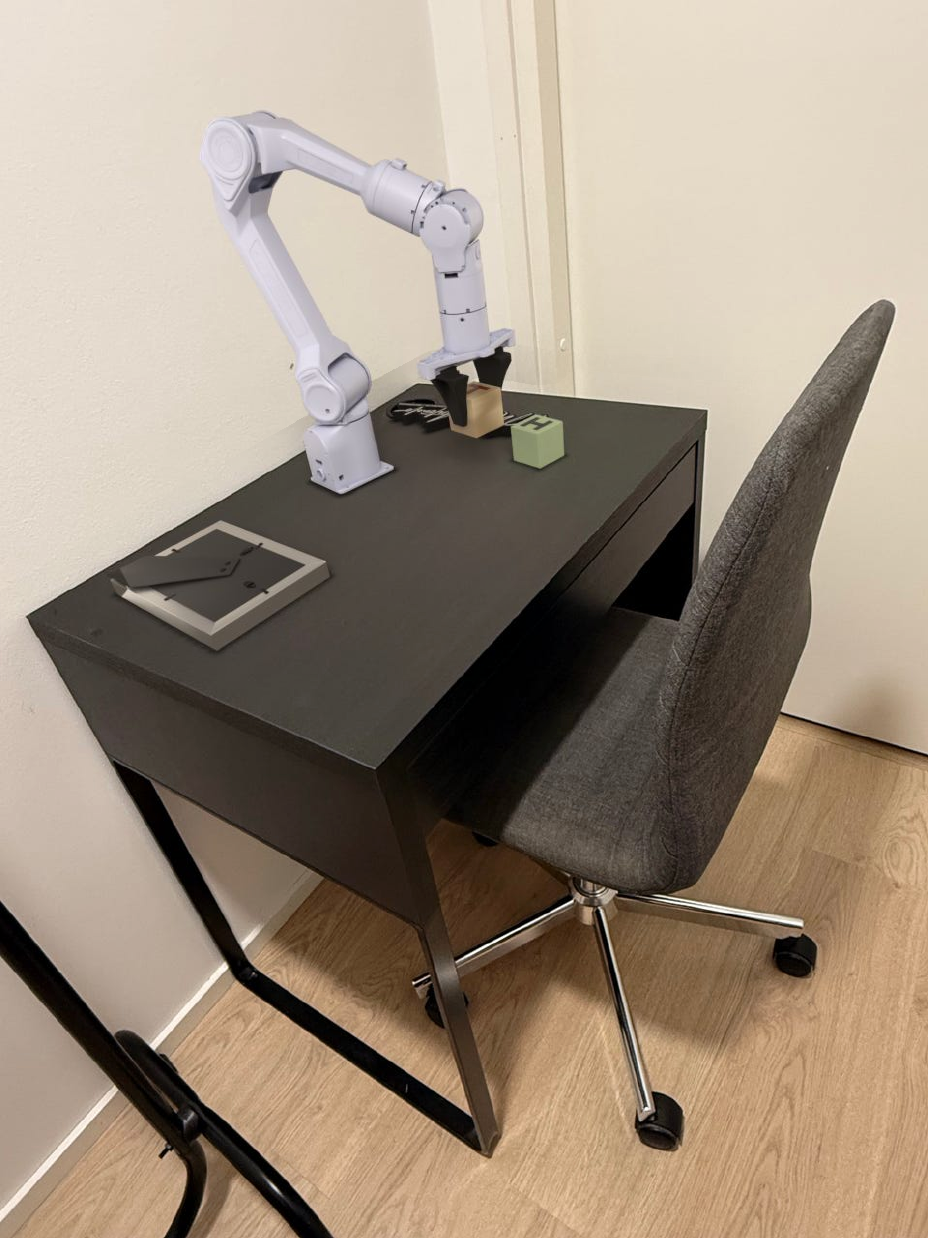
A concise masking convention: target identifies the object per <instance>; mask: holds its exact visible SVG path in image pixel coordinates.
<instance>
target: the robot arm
mask: <svg viewBox="0 0 928 1238" xmlns="http://www.w3.org/2000/svg"><path fill="white" fill-rule="evenodd" d="M204 129H205V130H204V133H203V137H202V142H201V147H200V152H199V162H200V163H201V166H202V167H203V169H204V171H205V172H206V174H207V176H208V177H209V180H210V185H211V190H212V195H213V199H214V204H215V210H216V214H217V217H218V219H219V221H220V223H221V225H222V227H223V229H224V230H225V232H226V234H227V235H228V238H229V239H230V241H231V243H232V245H233V246H234V249H235V250H236V251H237V253H238V255H239V257H240V259H241V260H242V263H243V264H244V266H245V267H246V269H247V271H248V272H249V275H250V276H251V278H252V280H253V282H254V283H255V285H256V287H257V289H258V290H259V292H260V294H261V295H262V297H263V299H264V301H265V302H266V304H267V307H268V308H269V310H270V311H271V313H272V315H273V317H274V318H275V320H276V322H277V324H278V326H279V328H280V329H281V331H282V333H283V335H284V336H285V338H286V340H287V342H288V344H289V345H290V346H291V347H290V348H291V349H292V350H293V352H294V354H295V366H294V373H293V375H294V377H293V378H294V380H295V381H296V383H297V385H298V387H299V389H300V394H301V395H300V396H301V401H302V404H303V407H304V409H305V410H306V412H307V413H308V415H310V417H312V418H313V419H314V420H315V422H314V423H313V425H310V427H308V428H306V429H305V430H304V431H303V434H302V436H303V437H302V441H303V446H304V449H305V453H306V456H307V460H308V465H309V468H310V471H311V472H310V473H311V475H312V476H311V477H310V480H311V482H313V483H315V484H318V485H319V486H322V487H324V488H326V489H327V490H331V491H333V492H334V493H337V494H339V495H344V494H346V493H348V492H350V491H352V490H354V489H357V488H358V487H361V486H362V485H364V484H367V483H369V482H371V481H373V480H375V479H377V478H379V477H381V476H383V475H385V474H388V473H390V472H392V471H393V470H394V469H395V468H394V465H392V464H390V463H387V462H384V461H382V460H380V455H379V451H378V445H377V440H376V435H375V431H374V425H373V421H372V417H371V411H370V407H369V402H368V394H369V393H370V391H371V389H372V381H373V380H372V375H371V372H370V370H369V368H368V367H367V365H366V364H365V362H364V361H362V360H361V359H360V358H359V357H358V356H356V355H355V353H354V352H353V350H352V349H351V347H350V345H349V343H348V342H346V341H344V340H343V339H341V338H339V337H337V336H336V335H334V334H333V333H332V331H331V329H330V326H329V325H328V323H327V322H326V320H325V317H324V316H323V314H322V312H321V311H320V308H319V307H318V305H317V302H316V301H315V299H314V298H313V295H312V294H311V292H310V290H309V287H308V286H307V284H306V283H305V281H304V279H303V277H302V274H301V273H300V271H299V270H298V267H297V265H296V263H295V262H294V260H293V257H291V255H290V253H289V250H288V249H287V247H286V246H285V243H284V241H283V240H282V238H281V236H280V234H279V232H278V230H277V228H276V227H275V225H274V223H273V221H272V219H271V218H270V215H269V206H270V202H271V198H272V196H273V195H272V194H273V190H274V188H275V186H276V185H277V183H278V182H279V179H280V178H281V176H282V175H283V173H284V172H285V171H291V170H297V171H300V172H302V173H305V174H306V175H309V176H312V177H314V178H316V179H318V180H321V181H324V182H325V183H328V184H330V185H333V186H335V187H338V188H339V189H342V190H344V191H347V192H350V193H351V194H355V195H357V196H359V197H360V199H361V200H362V203H363V205H364V207H365V209H366V211H367V212H368V214H370V215H372V216H374V217H376V218H377V219H380V220H382V221H384V222H386V223H388V224H391V225H392V226H394V227H396V228H399V229H400V230H402V231H404V232H407V233H409V234H411V235H412V236H415V237H417V238H420V240H421V241H422V243H423V245H424V246H425V248H426V249H427V250H428V251H429V253H430V254H431V260H432V266H433V278H434V284H435V291H436V298H437V299H436V300H437V306H438V314H439V320H440V321H439V322H440V330H441V336H442V342H443V343H442V344H443V346H442V347H440V348H439V349H437V350H435V352H433V353H431V354H430V355H428V356H427V357H425V358H422V359H421V360H419V361H417V362H416V365H417V370H418V371H417V372H418V376H419V379H421V380H427V381H430V383H431V384H432V385H433V387H434V388H435V389H436V391H437V392H438V393H439V395H440V397H441V398H442V400H443V402H444V405H446V406H447V409H448V411H449V413H450V416H451V418H452V421H453V424H455V425H458V426H461V427H465V426H467V404H466V394H467V384H469V379H470V376H469V375H467V374H464V373H461V371H460V369H458V367H460V366H463V365H465V364H468V363H470V362H472V363H473V365H474V368H475V372H476V375H477V380H478V382H480V383H484V384H488V385H492V386H496V387H500V388H501V391H502V390H503V385H504V380H505V377H506V375H507V373H508V369H509V367H510V365H511V364H512V361H513V359H512V358H513V357H512V353H511V352H509V351H504V348H512V347H514V346H516V345H517V344H516V333H515V332H516V331H515V329H512V328H506V327H502V328H500V329H496V330H494V331H490V326H489V325H490V324H489V315H488V305H487V294H486V283H485V275H484V266H483V261H482V252H481V241H480V239H478V237H479V236H480V234H481V232H482V230H483V227H484V221H485V215H484V210H483V207H482V205H481V203H480V201H479V200H478V198H477V197H476V196H474V195H473V194H472V193H470V192H469V191H468V190H467V189H466V188H465V187H454V188H450V189H448V190H447V189H446V186H447V184H446V182H445V181H443V180H441V179H436V180H435V181H432V180H430V179H428V178H426V177H424V176H422V175H420V174H418V173H416V172H414V171H412V170H410V169H408V168H407V166H408V161H406V160H403V159H401V158H400V157H397V158H393V159H392V161H391V160H389V159H382V160H380V161H378V162H377V163H375V164H373V165H371V164H369V163H367V162H366V161H365V160H362V159H361V158H359V157H357V156H356V155H354V154H352V153H350V152H348V151H346V150H345V149H342V148H341V147H339V146H337V145H335V144H334V143H331V142H330V141H328V140H326V139H324V138H323V137H321V136H319V135H317V134H315V133H314V132H311V131H310V130H308V129H306V128H305V127H302V126H301V125H299V124H298V123H296V121H293V120H292V119H290V118H286V117H279V116H277V115H276V114H275V113H273V112H271V111H268V110H264V109H263V110H262V109H261V110H255V111H253V112H252V113H251V112H250V113H246V114H241V115H236V116H235V115H234V116H219V117H216V118H214V119H212V120H211V121H210V122H209V123H208V124H207V126H206V127H205V128H204Z"/></svg>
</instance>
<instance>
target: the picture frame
mask: <svg viewBox="0 0 928 1238" xmlns="http://www.w3.org/2000/svg"><path fill="white" fill-rule="evenodd" d="M327 564H328V563H327V561H326V560H323V559H320V558H318V557H315V556H312V555H311V554H307V553H305V552H303V551H300V550H297V549H295V548H293V547H290V546H288V545H285V544H282V543H279V542H277V541H275V540H272V539H270V538H267V537H265V536H262V535H259V534H257V533H254V532H252V531H250V530H246V529H244V528H241V527H238V526H237V525H233V524H231V523H229V522H226V521H223V520H218V521H216V522H215V523H213V524H211V525H209V526H207V527H205V528H203V529H201V530H200V531H197V532H196V533H195V534H194V533H193V534H192V535H191V536H188V537H187V538H185V539H183V540H181V541H179V542H178V543H176V544H174V545H171V546H170V547H167V548H166V549H164V550H163V551H161V552H159V553H157V554H155V555H144V556H142V557H140V558H138V559H136V560H134V561H132V562H130V563H128V564H126V565H124V566H122V567H119V568H117V569H116V570H114V571H111V572H109V573H107V577H110V578H111V579H110V583H111V584H112V587H113V589H114V591H115V593H116V595H118V596H119V597H121V598H123V599H125V600H127V601H128V602H130V603H132V604H134V605H135V606H137V607H139V608H141V609H142V610H144V611H146V612H147V613H150V614H151V615H153V616H154V617H156V618H158V619H160V620H161V621H163V622H165V623H167V624H169V625H171V626H172V627H174V628H176V629H177V630H179V631H181V632H183V633H184V634H186V635H187V636H189V637H192V638H193V639H195V640H197V641H198V642H200V643H202V644H204V645H206V646H207V647H209V648H211V649H213V650H215V651H216V652H218V651H220V650H221V649H222V648H224V647H226V646H227V645H229V644H230V643H232V642H233V641H235V640H236V639H238V638H239V637H241V636H242V635H244V634H245V633H247V632H249V631H250V630H251V629H253V628H254V627H256V626H258V625H259V624H260V623H262V622H264V621H265V620H266V619H268V618H270V617H272V615H274V614H276V613H278V612H279V611H280V610H282V609H283V608H285V607H287V606H288V605H290V604H291V603H293V602H294V601H296V600H297V599H299V598H301V596H303V595H305V594H306V593H308V592H310V591H311V590H312V589H314V588H315V587H317V586H318V585H320V584H321V583H323V582H324V581H325V580H327V579H329V578H330V577H331V575H330V571H329V568H328V565H327Z"/></svg>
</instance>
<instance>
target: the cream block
mask: <svg viewBox="0 0 928 1238" xmlns="http://www.w3.org/2000/svg"><path fill="white" fill-rule="evenodd" d="M466 404H467V426H465V427H461V426H458V425H455V424H453V421H452V418H451V416H450V413H449V411H448V413H449V420H450V426H449V427H450V431H452V432H456V433H459V434H461V435H465V436H468V437H470V438H475V439H478V438H480V437H482V436H484V434H486V433H488V432H490V431H493V430H495V429H497V428H499V427H501V426H503V425H504V419H503V410H504V409H503V408H504V407H503V400H502V390H501V388H500V387H496V386H492V385H488V384H484V383H480V382H479V381H475V380H473V381H471V382H468V384H467V394H466Z"/></svg>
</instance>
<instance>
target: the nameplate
mask: <svg viewBox="0 0 928 1238" xmlns="http://www.w3.org/2000/svg"><path fill="white" fill-rule="evenodd" d="M396 406H397V409H394V410H392V411H391V413H392V420H393V421H394V422H403V423H404V425H405V426H407V425H410V424H413V423H416V422H417V423H420V424H421V425H423V427H424V428H425V432H426V433H432V432H435V431H438V430H441V429H442V430H443V429H444V428H448V427H450V420H449V413H448V409H447V406H446V404H440V403H439V404H438V403H421V402H405V401H402V402H398V403H397V404H396ZM510 413H511V412H510V411H509V410H504V409H503V419H504V425H503V426H501V427H499V428H497V429H495V430H493V431H490V432H488V433H486V434H484V435H483V436H484V438H485V439H489V438H495V437H500V436H505V437H512V434H511V426H513V425H515V424H517V423H519V422H521V421H523V420H525V419H527V418H529V417H531V416H533V415H535V412H527V413H525V414H521V415H519V416H517V415H516V414H510ZM539 415H540V416H544V417H548V418H550V417H549V414H546V413H544V414H543V413H542V414H539Z"/></svg>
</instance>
